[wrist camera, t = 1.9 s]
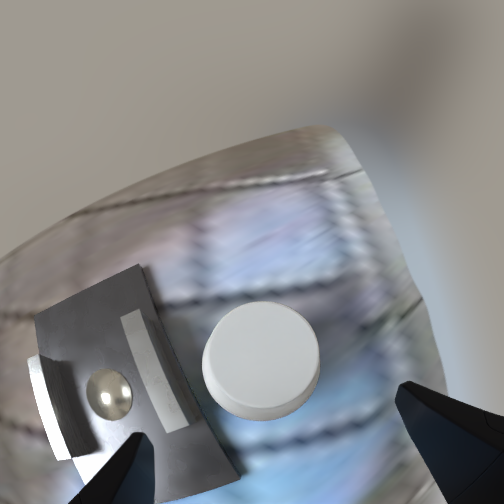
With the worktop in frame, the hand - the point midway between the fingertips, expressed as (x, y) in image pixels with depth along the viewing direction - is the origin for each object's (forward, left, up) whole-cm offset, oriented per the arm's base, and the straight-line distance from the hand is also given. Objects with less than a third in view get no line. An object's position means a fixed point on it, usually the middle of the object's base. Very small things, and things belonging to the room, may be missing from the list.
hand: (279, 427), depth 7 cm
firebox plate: (+3, +11, -10) cm, 15 cm away
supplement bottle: (+3, 0, -10) cm, 10 cm away
